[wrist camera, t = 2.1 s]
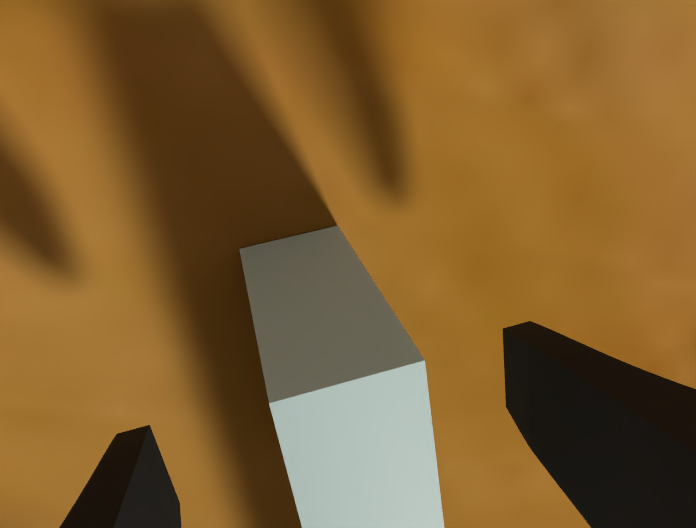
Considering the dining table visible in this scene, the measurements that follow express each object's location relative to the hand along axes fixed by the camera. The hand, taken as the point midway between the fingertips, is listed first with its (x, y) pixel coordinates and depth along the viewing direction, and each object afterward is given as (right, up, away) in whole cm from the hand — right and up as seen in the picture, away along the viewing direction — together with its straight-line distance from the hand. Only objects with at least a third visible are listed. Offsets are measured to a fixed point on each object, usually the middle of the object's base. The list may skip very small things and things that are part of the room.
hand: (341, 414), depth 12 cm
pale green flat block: (0, -3, +6) cm, 7 cm away
